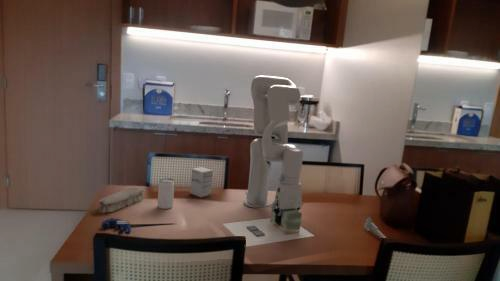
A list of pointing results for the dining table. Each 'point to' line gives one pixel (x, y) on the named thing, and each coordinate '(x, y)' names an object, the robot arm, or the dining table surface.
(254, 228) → the mark chip
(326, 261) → the dining table surface
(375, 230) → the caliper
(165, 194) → the can
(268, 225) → the board
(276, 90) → the robot arm
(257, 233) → the mark chip
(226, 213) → the dining table surface
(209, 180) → the supplement box
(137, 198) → the shoe brush
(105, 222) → the bar clamp
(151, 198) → the dining table surface
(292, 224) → the block
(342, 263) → the dining table surface
